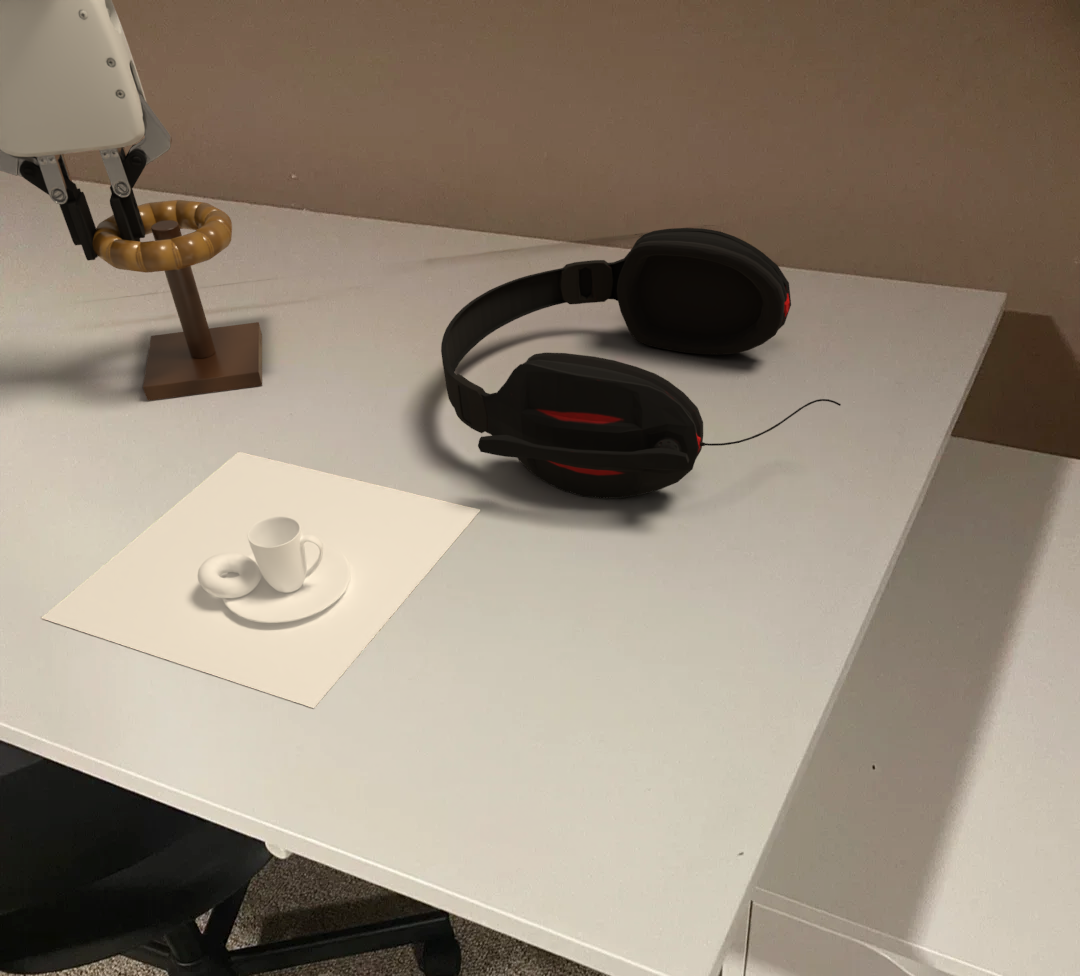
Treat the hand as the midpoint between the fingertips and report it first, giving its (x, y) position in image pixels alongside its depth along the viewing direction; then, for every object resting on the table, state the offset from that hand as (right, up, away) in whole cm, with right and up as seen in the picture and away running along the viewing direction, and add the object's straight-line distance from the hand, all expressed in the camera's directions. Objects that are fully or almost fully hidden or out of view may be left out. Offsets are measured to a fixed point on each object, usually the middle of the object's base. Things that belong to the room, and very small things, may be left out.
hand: (113, 248), depth 75 cm
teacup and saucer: (+15, -25, -11) cm, 31 cm away
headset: (+39, -13, 0) cm, 41 cm away
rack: (+4, -6, +8) cm, 11 cm away
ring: (+4, +1, 0) cm, 4 cm away
